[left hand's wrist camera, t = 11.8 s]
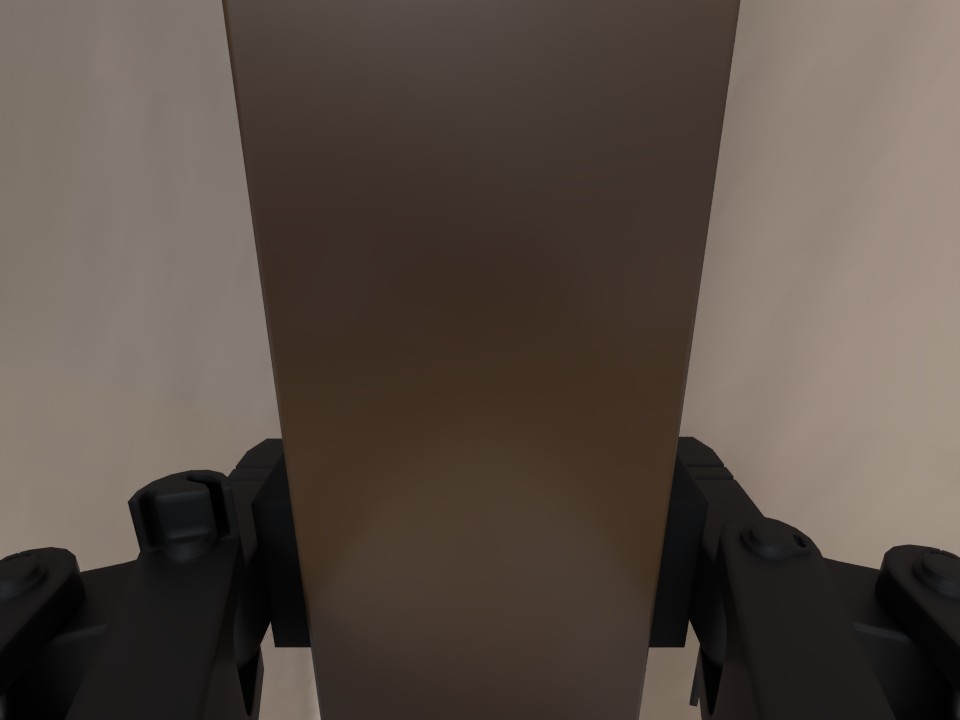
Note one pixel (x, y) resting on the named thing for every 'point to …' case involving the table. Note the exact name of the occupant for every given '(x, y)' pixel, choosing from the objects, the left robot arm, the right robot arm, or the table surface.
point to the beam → (480, 331)
